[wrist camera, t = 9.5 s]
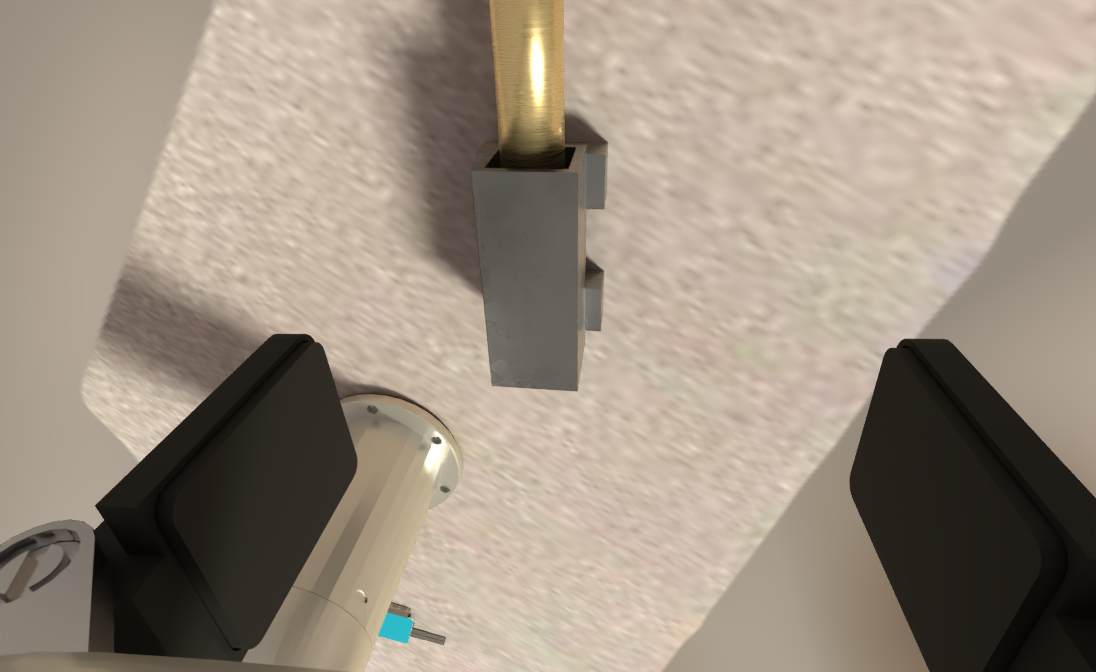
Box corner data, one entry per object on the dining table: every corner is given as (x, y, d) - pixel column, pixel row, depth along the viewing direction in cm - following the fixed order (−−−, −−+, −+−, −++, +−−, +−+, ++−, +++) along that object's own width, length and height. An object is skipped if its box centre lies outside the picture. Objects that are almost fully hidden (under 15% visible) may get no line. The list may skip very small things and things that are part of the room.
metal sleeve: (602, 324, 39) (595, 392, 32) (501, 319, 39) (475, 384, 33) (608, 133, 32) (600, 173, 26) (486, 132, 33) (449, 170, 26)
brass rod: (571, 204, 31) (554, 264, 24) (506, 203, 31) (473, 262, 25) (570, -263, 21) (541, -363, 15) (476, -255, 22) (409, -350, 15)
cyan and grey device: (273, 618, 67) (265, 631, 65) (272, 559, 60) (264, 573, 59) (437, 664, 67) (433, 678, 66) (454, 611, 61) (449, 626, 60)
